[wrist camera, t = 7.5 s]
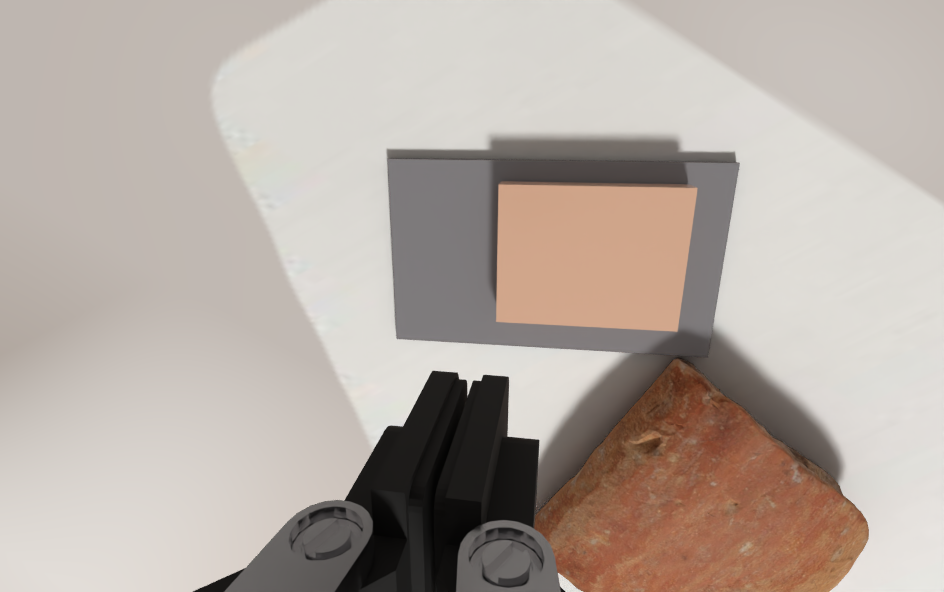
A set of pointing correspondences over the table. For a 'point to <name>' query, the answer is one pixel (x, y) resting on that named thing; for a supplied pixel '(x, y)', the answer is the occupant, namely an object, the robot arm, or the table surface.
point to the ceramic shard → (699, 503)
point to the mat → (476, 238)
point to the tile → (593, 253)
